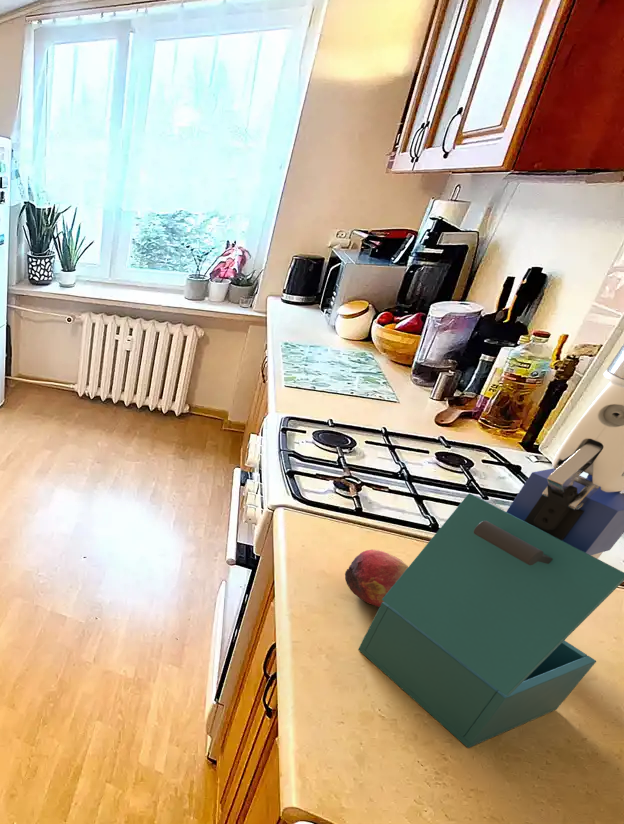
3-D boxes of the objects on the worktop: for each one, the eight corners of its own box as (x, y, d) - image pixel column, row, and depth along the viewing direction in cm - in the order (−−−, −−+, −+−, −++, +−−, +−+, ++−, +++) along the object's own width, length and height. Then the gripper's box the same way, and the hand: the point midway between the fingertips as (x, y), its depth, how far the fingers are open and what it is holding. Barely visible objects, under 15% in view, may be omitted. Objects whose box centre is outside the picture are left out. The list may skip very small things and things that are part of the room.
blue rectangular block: (503, 516, 59) (531, 472, 56) (530, 510, 60) (560, 466, 58) (581, 558, 53) (618, 511, 50) (609, 550, 54) (646, 504, 52)
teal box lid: (471, 494, 61) (447, 486, 58) (629, 575, 49) (608, 569, 47) (384, 600, 66) (359, 596, 63) (509, 695, 54) (483, 696, 52)
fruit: (407, 626, 73) (430, 585, 70) (345, 611, 76) (365, 570, 72) (390, 588, 80) (411, 548, 76) (333, 575, 82) (351, 535, 79)
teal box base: (438, 622, 74) (466, 576, 70) (556, 709, 63) (597, 661, 59) (357, 649, 70) (381, 602, 66) (467, 748, 58) (505, 698, 54)
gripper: (678, 397, 42) (552, 565, 51) (779, 384, 47) (649, 538, 56) (564, 364, 49) (468, 518, 57) (664, 355, 54) (563, 497, 62)
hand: (559, 526), depth 56 cm, fingers closed on blue rectangular block, 5 cm apart
